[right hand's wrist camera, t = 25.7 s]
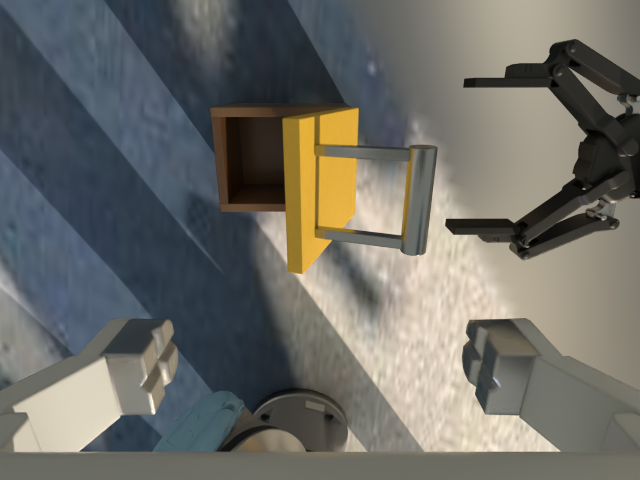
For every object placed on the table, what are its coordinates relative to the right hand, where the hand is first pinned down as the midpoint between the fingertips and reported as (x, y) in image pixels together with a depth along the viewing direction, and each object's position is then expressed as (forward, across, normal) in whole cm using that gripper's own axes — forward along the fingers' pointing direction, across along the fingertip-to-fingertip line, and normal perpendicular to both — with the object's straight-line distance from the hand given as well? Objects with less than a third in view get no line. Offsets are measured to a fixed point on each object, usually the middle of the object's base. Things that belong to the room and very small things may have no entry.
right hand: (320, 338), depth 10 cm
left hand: (+28, +13, 0) cm, 31 cm away
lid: (+20, 0, 0) cm, 20 cm away
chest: (+35, -3, 0) cm, 35 cm away
